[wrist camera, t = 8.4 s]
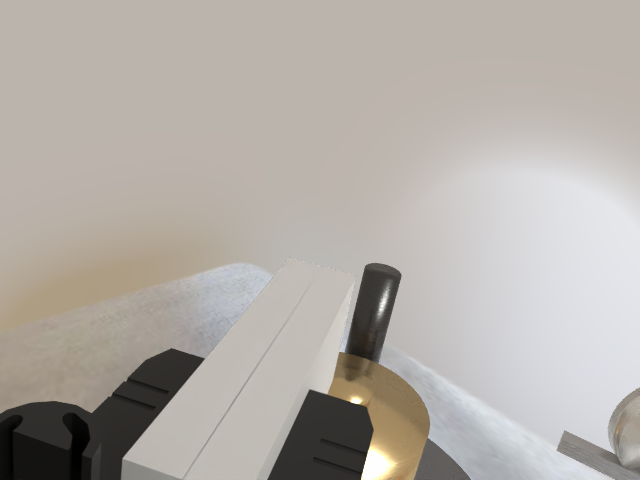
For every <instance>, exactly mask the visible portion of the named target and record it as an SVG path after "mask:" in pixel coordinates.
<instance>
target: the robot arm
mask: <svg viewBox="0 0 640 480" xmlns="http://www.w3.org/2000/svg"><path fill="white" fill-rule="evenodd" d="M355 279H356V275H353V274H349V273H346V272H342V271H338V270H334V269H331V268H327V267H323V266H320V265H316V264H312V263H309V262H305V261H302V260H298V259H294V258H291V257H290V258H289V259H288V260H287V261H286V262H285V264H284V265H283V266H282V267H281V269H280V270H279V271H278V272H277V273H276V274H275V276H274V277H273V278H272V279H271V280H270V282H269V283H268V284H267V285H266V286H265V288H264V289H263V290H262V291H261V292H260V294H259V295H258V296H257V297H256V298H255V300H254V301H253V302H252V303H251V304H250V306H249V307H248V308H247V309H246V311H245V312H244V313H243V314H242V315H241V317H240V318H239V319H238V320H237V321H236V323H235V324H234V325H233V326H232V327H231V329H230V330H229V331H228V332H227V333H226V335H225V336H224V337H223V338H222V339H221V341H220V342H219V343H218V344H217V345H216V347H215V348H214V349H213V350H212V351H211V353H210V354H209V355H208V356H207V357H206V359H204V358H201V357H198V356H195V355H191V354H188V353H185V352H182V351H179V350H175V349H172V348H171V349H169V350H167V351H165V352H163V353H160V354H158V355H156V356H154V357H151V358H149V359H147V360H145V361H144V362H143V363H142V364H141V365H140V366H139V367H138V368H137V369H136V370H135V371H134V372H133V373H132V374H131V375H130V376H129V377H128V379H127V381H126V382H125V381H124V382H123V383H122V384H121V385H120V386H119V387H118V388H117V389H116V390H115V391H114V392H113V394H112V396H111V397H108V398H107V399H106V400H105V401H104V402H103V403H102V404H101V405H100V406H99V407H98V408H97V409H96V410H95V411H94V412H93V413H90V412H88V411H86V410H84V409H82V408H81V407H79V406H77V405H73V404H68V403H62V402H57V401H50V402H35V403H28V404H25V405H22V406H18V407H15V408H12V409H8V410H6V411H4V412H3V413H1V414H0V480H361V479H362V475H363V471H364V467H365V463H366V459H367V455H368V451H369V447H370V444H371V440H372V436H373V432H374V429H373V425H372V422H371V419H370V416H369V412H368V409H367V407H366V406H363V405H359V404H356V403H353V402H350V401H346V400H343V399H340V398H337V397H334V396H330V395H327V393H328V391H329V388H330V386H331V383H332V381H333V377H334V372H335V368H336V363H337V359H338V354H339V350H340V346H341V341H342V337H343V332H344V328H345V323H346V319H347V315H348V310H349V306H350V301H351V297H352V292H353V288H354V283H355Z"/></svg>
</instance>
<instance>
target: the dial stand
mask: <svg viewBox="0 0 640 480" xmlns="http://www.w3.org/2000/svg"><path fill="white" fill-rule="evenodd" d="M608 437H609V442H610V445H611V447H612V449H613V451H614V453H615V454H613V453H611V452H609V451H607V450H605V449H603V448H600V447H598V446H596V445H594V444H592V443H590V442H588V441H586V440H584V439H581V438H579V437H577V436H575V435H573V434H571V433H569V432H567V431H564V433H563V435H562V438H561V440H560V442H559V445H558V448H557V451H558V452H560V453H562V454H565V455H567V456H569V457H571V458H573V459H575V460H577V461H579V462H581V463H583V464H585V465H587V466H589V467H591V468H593V469H595V470H597V471H599V472H601V473H603V474H605V475H607V476H609V477H611V478H613V479H615V480H640V388H638V389H636V390H635V391H633V392H632V393H630V394H629V395H628V396H627V397H625V398H624V399H623V401H621V402H620V404H619V405H618V406H617V407H616V409H615V411H614V412H613V414H612V416H611V419H610V421H609V426H608Z"/></svg>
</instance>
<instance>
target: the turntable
mask: <svg viewBox="0 0 640 480" xmlns="http://www.w3.org/2000/svg"><path fill="white" fill-rule="evenodd" d="M400 280H401V273H400V272H399V271H398V270H397V269H395V268H393V267H391V266H388V265H384V264H379V263H371V264H368V265H366V266H365V269H364V273H363V277H362V282H361V286H360V290H359V294H358V298H357V302H356V307H355V311H354V315H353V319H352V323H351V328H350V332H349V336H348V340H347V344H346V349H345V353H347V354H352V355H356V356H359V357H362V358H365V359H368V360H370V361H373V362H375V363H377V364H378V363H379V359H380V355H381V351H382V348H383V344H384V340H385V336H386V332H387V328H388V325H389V321H390V317H391V314H392V309H393V306H394V302H395V299H396V295H397V291H398V287H399V284H400ZM414 480H471V479H470V478H469V476H468V475H467V474H466V473H465V472H464V471H463V470H462V469H461V467H460V466H459V465H458V464H457V463H456V462H455V461H454V460H453V459H452V458H451V457H450V456H449V455H448V454H446V453H445V452H444V451H443V450H442V449H441V448H440V447H439V446H437V445H436V444H435V443H434V442H432V441H431V440H430V439H428V438H427V440H426V443H425V446H424V449H423V453H422V456H421V459H420V462H419V465H418V468H417V471H416V474H415V477H414Z"/></svg>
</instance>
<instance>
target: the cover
mask: <svg viewBox="0 0 640 480" xmlns="http://www.w3.org/2000/svg"><path fill="white" fill-rule="evenodd" d="M327 395H330V396H334V397H337V398H340V399H343V400H346V401H350V402H353V403H356V404H359V405H363V406H366V407H367V409H368V412H369V416H370V419H371V422H372V425H373V429H374V432H373V436H372V440H371V444H370V447H369V451H368V455H367V459H366V463H365V467H364V471H363V475H362V479H361V480H414V477H415V474H416V471H417V468H418V465H419V462H420V459H421V456H422V453H423V449H424V446H425V443H426V440H427V437H428V434H429V428H430V421H429V415H428V411H427V409H426V406H425V404H424V402H423V401H422V399H421V398H420V396H419V395H418V394H417V392H416V391H415V390H414V389H413V388H412V387H411V386H410V385H409V384H408V383H407V382H406V381H405V380H403V379H402V378H401V377H400V376H398V375H397V374H395V373H394V372H392V371H391V370H389V369H387V368H385V367H383V366H382V365H379V364H377V363H375V362H373V361H370V360H368V359H365V358H362V357H359V356H356V355H352V354H347V353H343V352H339V354H338V359H337V363H336V368H335V372H334V377H333V381H332V383H331V386H330V388H329V391H328V393H327Z"/></svg>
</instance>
